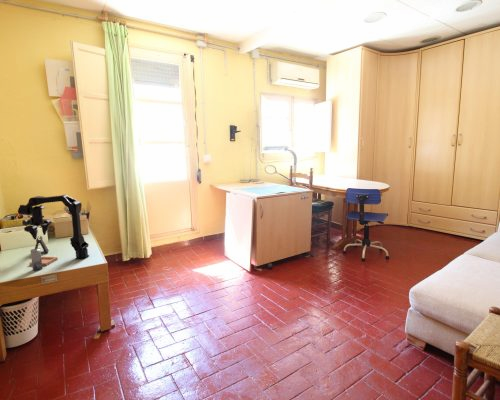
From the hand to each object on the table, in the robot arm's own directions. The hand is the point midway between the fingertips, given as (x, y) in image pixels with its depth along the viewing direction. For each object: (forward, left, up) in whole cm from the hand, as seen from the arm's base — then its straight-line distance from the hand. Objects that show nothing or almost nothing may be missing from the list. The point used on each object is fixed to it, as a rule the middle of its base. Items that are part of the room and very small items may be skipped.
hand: (39, 237), depth 201 cm
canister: (-11, +19, -15) cm, 27 cm away
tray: (-7, +8, -15) cm, 18 cm away
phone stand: (+7, -8, -15) cm, 18 cm away
